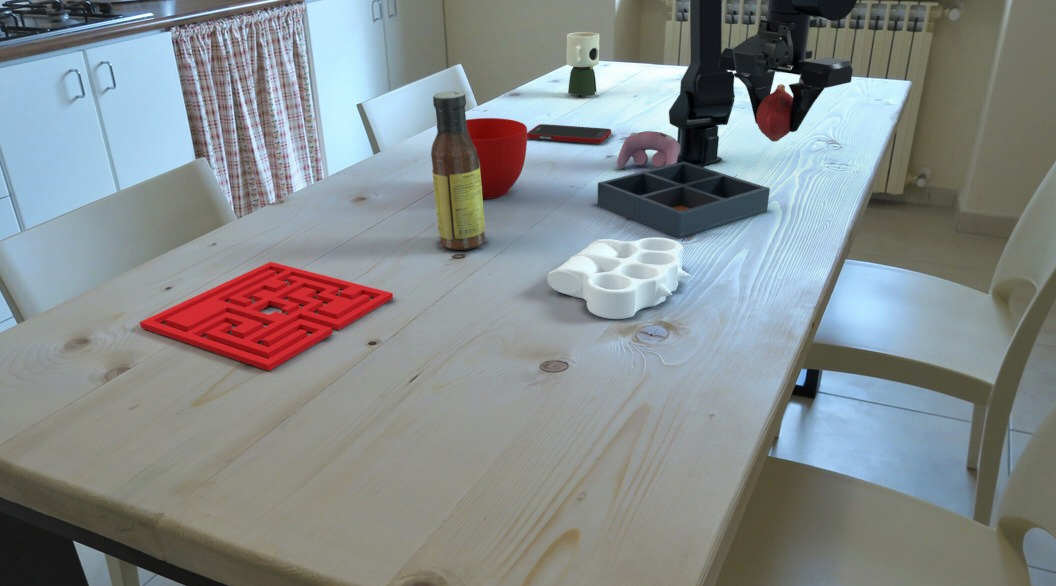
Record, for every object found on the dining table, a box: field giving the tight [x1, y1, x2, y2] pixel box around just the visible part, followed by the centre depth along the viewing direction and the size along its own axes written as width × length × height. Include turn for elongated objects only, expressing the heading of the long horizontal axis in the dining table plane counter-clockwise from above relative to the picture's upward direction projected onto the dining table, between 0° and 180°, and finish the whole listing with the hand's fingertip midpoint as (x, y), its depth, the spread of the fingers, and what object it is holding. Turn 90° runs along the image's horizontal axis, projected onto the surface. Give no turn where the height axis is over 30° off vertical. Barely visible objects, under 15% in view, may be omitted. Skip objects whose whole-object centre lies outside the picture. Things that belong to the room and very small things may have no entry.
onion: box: [756, 83, 793, 143], centre depth 125 cm, size 6×6×8 cm
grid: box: [596, 161, 771, 239], centre depth 129 cm, size 17×17×4 cm
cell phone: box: [527, 123, 612, 145], centre depth 166 cm, size 8×15×1 cm, turn 69°
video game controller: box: [616, 130, 680, 170], centre depth 147 cm, size 10×5×7 cm, turn 65°
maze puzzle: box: [139, 261, 394, 372], centre depth 101 cm, size 20×20×1 cm
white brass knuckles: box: [546, 237, 692, 320], centre depth 105 cm, size 3×18×15 cm
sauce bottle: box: [430, 90, 486, 251], centre depth 115 cm, size 7×6×20 cm
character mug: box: [566, 31, 600, 98], centre depth 194 cm, size 11×7×13 cm, turn 159°
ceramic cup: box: [466, 117, 528, 199], centre depth 135 cm, size 13×17×10 cm
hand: (775, 127), depth 126 cm, fingers closed on onion, 6 cm apart
